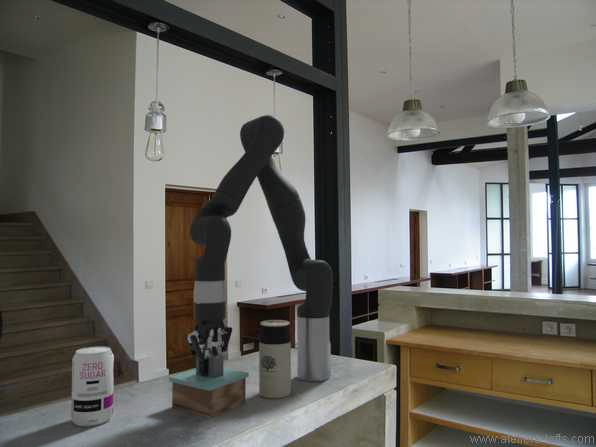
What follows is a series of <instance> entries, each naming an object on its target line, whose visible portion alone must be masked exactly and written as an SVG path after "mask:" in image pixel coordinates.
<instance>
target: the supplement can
mask: <svg viewBox="0 0 596 447" xmlns="http://www.w3.org/2000/svg"><path fill="white" fill-rule="evenodd" d="M114 358H115V355H114V353H113V352H112V348H111V347H109V346H90V347H83V348H79V349H77V350H76V351H75V354H74V355H73V357H72V359H71V361H72V362H71V363H72V365H71V367H72V368H71V407H70V409H71V410H70V411H71V416H70V418H71V419H70V420H71V422H72V423H73V424H74V425H75V426H78V427H93V426H98V425H102V424H104V423H107V422H108V421H109V420H110V419H111V418H112V417H113V415H114V377H115V376H114V375H115V374H114V371H115V370H114V368H115V365H114V364H115V359H114Z"/></svg>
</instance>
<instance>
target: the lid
mask: <svg viewBox="0 0 596 447" xmlns="http://www.w3.org/2000/svg"><path fill="white" fill-rule="evenodd" d="M203 354H204V352H203ZM244 378H246V379H247V378H249V372H247V371H241V370H236V369H232V368H226V367H224V355H222V354H221V355H216V354H211V352H209V355H208V375H206V376H204V375H200V373H199V359H198V358H196V357H195V369H192V370H189V371H184V372H182V373H179V374H174V375H172V376H171V375H170V376H169V380H168V381H169V382H171V383H172V382H174V383H178V384H183V385H187V386H191V387H195V388H199V389H204V390H208V391H211V390H213V389H216V388H219V387H222V386H225V385H227V384H230V383H233V382H236V381H239V380H241V379H244Z"/></svg>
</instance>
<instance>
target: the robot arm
mask: <svg viewBox="0 0 596 447" xmlns="http://www.w3.org/2000/svg"><path fill="white" fill-rule="evenodd" d="M239 137H240V142H241V145H242V147H243V150H244V153H243V155H242V156H241V157H240V159H238V160H237V162H236V163H234V165H233V166H232V167H231V168H230V169H229V171H227V172H226V174H225V175H224V176H223V178H221V181H220V182H219V184H218V186H217V188H216V190H215V191H214V193H213V195H212V197H211V198H210V200H209V201H207V203H205V205H203V207H202V208H201V209H200V210H199V211H198V212H197V214H196V215H195V216H194V217H193V218H192V221H191V223H190V227H189V237H190V238H191V241H192V242H193V243H195V244H196V245H199V246H205V247H204V251H203V254H202V255H200V256H198V257H196V259H195V262H194V263H195V264H194V285H193V286H194V288H193V320H194V321H195V326H194V328H193V329H194V330H193V331H192V332H191V333H187V334H185V335H184V337H185V338H184V339H185V341H186V345H187V347H188V350H189V353H190V355H191V357H192V358H195V359H196V358H198V359H199V373H200V375H204V376H206V375H208V355H209V353H210V354H216V355H221V356H222V354H223V353H224V352H225V353H226V352H227V351H228V347H229V344H230V343H229V342H230V341H231V340H230V339H231V337H232V333H233V328H232V327H233V326H232V327H230V326H226V325H225V322H224V320H225V319H226V318H227V316H226V314H227V308H226V307H227V300H226V299H227V297H226V296H227V295H226V294H227V293H226V292H227V290H226V289H227V287H226V278H225V277H226V267H225V266H226V260H227V257H228V252H229V247H230V245H231V240H232V228H231V224H230V222H229V221H228V219H227V218H229V217H232V216H234V215H236V213H237V212H238V210H239V209H240V206H241V205H242V203H243V201H244V200H245V198H246V195H247V193H248V192H249V190H250V188H251V186H252V185H253V183H254V181H255V179H256V178H257V180H258V183H259V185H260V189H261V190H262V193H263V196H264V198H265V201H266V205H267V208H268V210H269V213H270V215H271V218H272V221H273V223H274V226H275V229H276V232H277V234H278V237H279V240H280V243H281V245H282V248H283V252H284V254H285V255H284V256H285V258H286V262H287V266H288V270H289V274H290V278H291V280H292V283H293V285H294V286H295V287H296V288H297V290H300V291H303V292H305V300H304V301H303V303H302V304H299V305H298V306H297V308H296V336H297V337H296V348H297V349H296V350H297V351H296V356H297V358H296V359H297V360H296V363H297V364H296V365H297V368H296V369H297V371H296V372H297V378H298V379H299V380H301V381H306V382H322V381H327V380H329V379H330V376H331V375H332V373H331V371H332V368H331V367H332V365H331V364H332V363H331V361H332V359H331V358H332V355H331V354H332V353H331V351H332V350H331V348H332V346H331V345H332V344H331V342H330V311H331V308H332V303H333V288H334V284H333V283H334V276H333V270H332V267H331V265H329V262H326V261H325V260H320V259H312V257H311V256H310V254H309V252H308V248H307V246H306V245H307V244H306V242H305V229H306V212H305V208H304V206H303V203H302V202H303V201H302V200H301V198H300V194H299V192H298V191H297V189H296V187H295V186H294V185H293V183H291V182H290V180H289V179H288V178H287V177H286V176H285V175H284V173H282V172H281V171H280V169H279V168H278V166H277V165H276V163H275V161H274V158H273V154H274V153H275V152H276V151H277V150H278V148H279V147H280V146H281V144H282V143H283V140H284V138H285V128H284V125H283V123H282V122H281V120H280V119H279V118H278V117H276V116H275V115H272V114H267V115H261V116H258V117H257V118H253V119H252V120H249V121H247V122H245V123H244V124H243V125H242V126H241V128H240V131H239ZM203 353H204V354H203Z"/></svg>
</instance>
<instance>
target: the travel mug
mask: <svg viewBox="0 0 596 447" xmlns="http://www.w3.org/2000/svg"><path fill="white" fill-rule="evenodd" d="M259 324H260V326H261V330H260V331H261V332H260V334H259V335H258V338H259V339H258V343H259V344H258V349H259V350H258V351H259V352H258V356H259V357H258V362H259V364H258V365H259V367H258V368H259V369H258V375H259V376H258V378H259V379H258V380H259V381H258V383H259V384H258V388H259V389H258V390H259V391H258V392H259V393H258V394H259V395H260V396H262V397H264V398H267V399H275V400H277V399H283V398H287V397H288V396H290V395H291V393H292V384H291V383H292V379H291V378H292V356H291V355H292V352H291V350H292V348H291V347H292V342H291V341H292V340H291V339H292V338H291V337H292V336H291V333H290V331H289V326H290V321H288V320H286V319H285V320H283V319H268V320H263V321H260V323H259Z"/></svg>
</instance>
